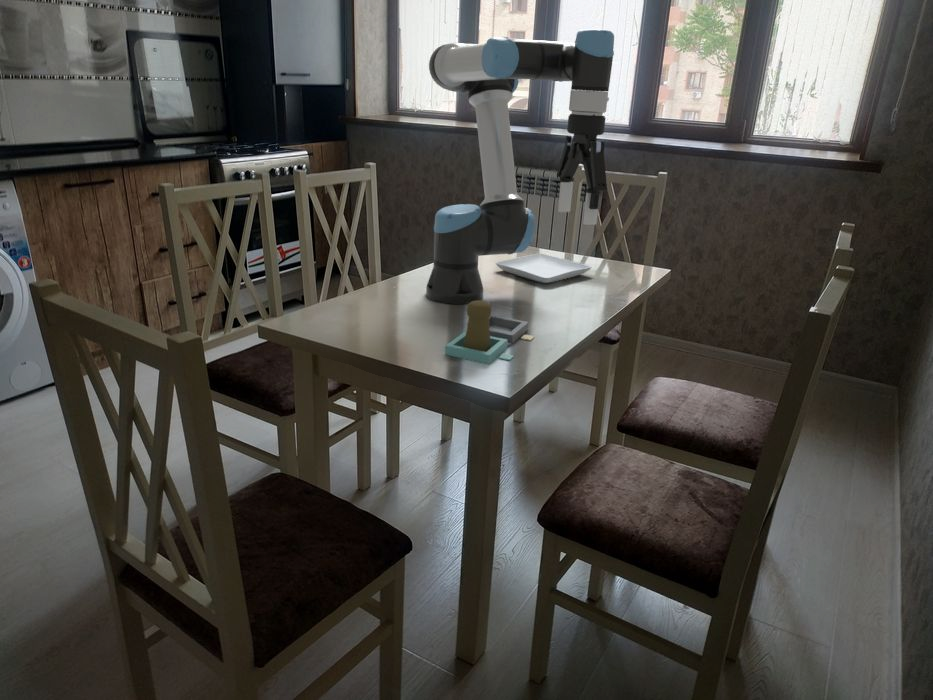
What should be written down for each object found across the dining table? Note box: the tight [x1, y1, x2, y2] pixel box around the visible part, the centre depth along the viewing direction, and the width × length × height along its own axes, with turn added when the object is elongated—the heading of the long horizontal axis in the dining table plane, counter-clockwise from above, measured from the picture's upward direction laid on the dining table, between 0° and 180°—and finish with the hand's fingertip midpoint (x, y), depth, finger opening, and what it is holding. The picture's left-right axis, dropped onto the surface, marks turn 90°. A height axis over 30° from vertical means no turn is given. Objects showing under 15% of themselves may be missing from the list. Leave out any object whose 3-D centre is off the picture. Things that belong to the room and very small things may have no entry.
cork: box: [463, 300, 492, 352], centre depth 139 cm, size 6×6×11 cm
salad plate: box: [495, 253, 592, 284], centre depth 200 cm, size 21×21×3 cm
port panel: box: [444, 314, 536, 365], centre depth 145 cm, size 13×23×2 cm, turn 155°
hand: (576, 217), depth 143 cm, fingers open, 13 cm apart
